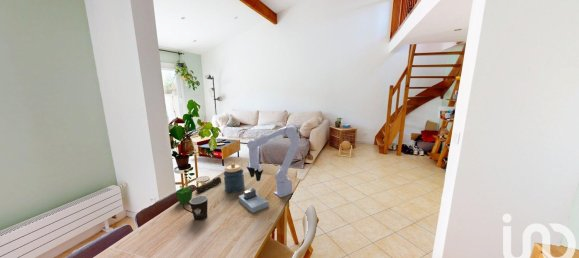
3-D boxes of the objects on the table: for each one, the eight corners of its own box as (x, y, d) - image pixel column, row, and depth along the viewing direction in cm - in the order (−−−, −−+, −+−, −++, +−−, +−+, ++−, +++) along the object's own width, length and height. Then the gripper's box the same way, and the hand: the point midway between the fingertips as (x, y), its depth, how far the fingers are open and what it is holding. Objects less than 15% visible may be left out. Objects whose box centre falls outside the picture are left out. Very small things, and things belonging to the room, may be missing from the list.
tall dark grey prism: (253, 198, 128) (253, 188, 127) (256, 200, 125) (255, 189, 124) (244, 202, 124) (243, 191, 123) (247, 204, 122) (246, 193, 121)
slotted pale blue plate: (253, 195, 132) (253, 190, 132) (268, 206, 119) (268, 201, 118) (238, 200, 126) (238, 196, 126) (252, 213, 113) (252, 207, 112)
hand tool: (199, 193, 137) (198, 187, 136) (195, 192, 139) (195, 185, 138) (223, 183, 152) (223, 177, 151) (220, 181, 154) (219, 175, 153)
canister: (248, 186, 144) (247, 162, 141) (234, 194, 134) (232, 168, 130) (235, 182, 151) (233, 159, 148) (220, 190, 140) (218, 164, 137)
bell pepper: (195, 201, 127) (193, 186, 125) (180, 207, 121) (178, 191, 119) (190, 197, 133) (188, 182, 131) (175, 202, 127) (173, 186, 125)
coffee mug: (213, 213, 113) (211, 196, 112) (201, 223, 105) (199, 205, 104) (195, 210, 117) (193, 193, 115) (183, 219, 109) (180, 201, 107)
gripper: (243, 156, 135) (244, 177, 137) (254, 162, 123) (255, 184, 126) (252, 154, 139) (254, 174, 141) (264, 159, 127) (265, 181, 130)
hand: (255, 178), depth 134 cm, fingers open, 7 cm apart
